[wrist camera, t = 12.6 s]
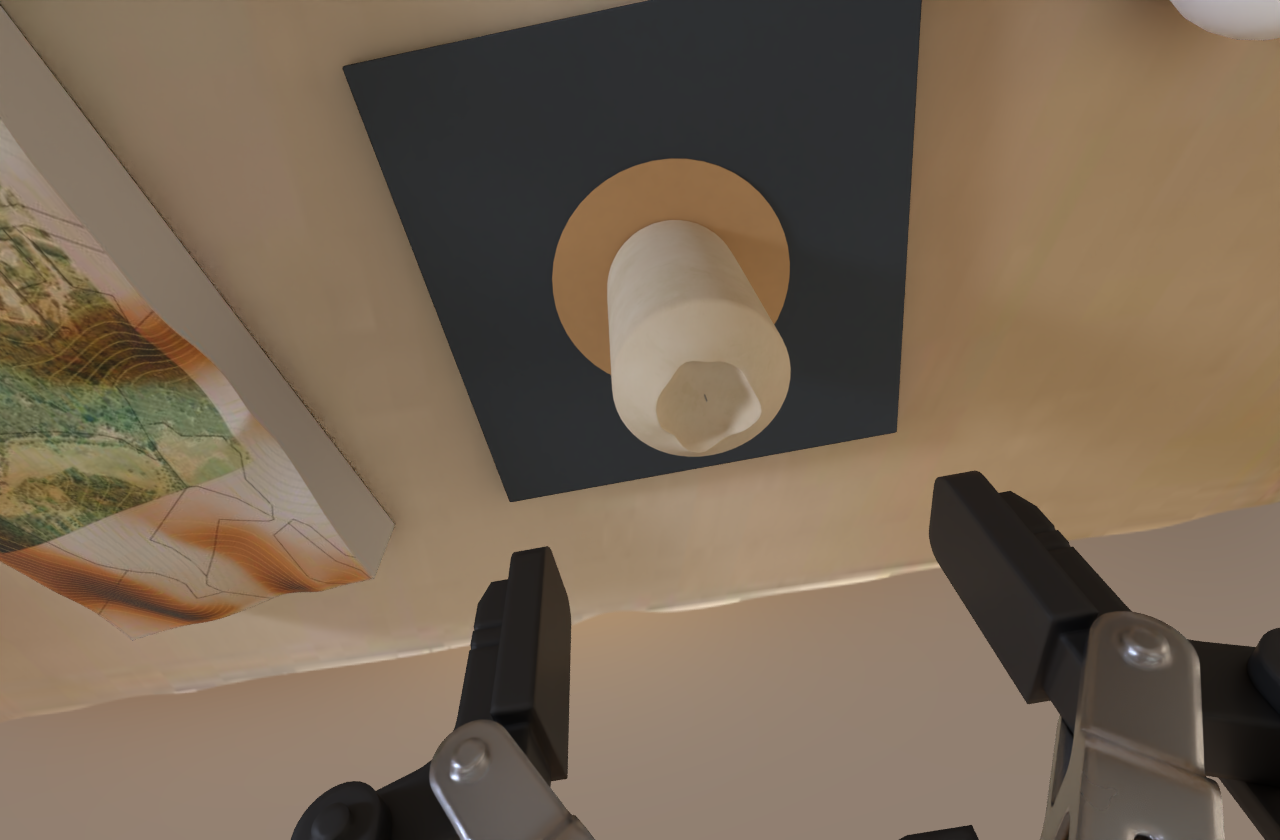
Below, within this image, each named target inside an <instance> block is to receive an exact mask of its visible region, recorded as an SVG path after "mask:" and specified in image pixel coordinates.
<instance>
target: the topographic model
mask: <svg viewBox="0 0 1280 840" xmlns="http://www.w3.org/2000/svg"><path fill="white" fill-rule="evenodd" d="M394 526H395V524H394V523H393V521H392V520H391V519H390V518H389V516H388V515H387V514H386V512H385V511H384V510H383V508H382V507H381V506H380V504H379V503H378V502H377V500H376V499H375V498H374V496H373V495H372V494H371V492H370V491H369V490H368V489H367V487H366V486H365V485H364V483H363V482H362V481H361V479H360V478H359V477H358V475H357V474H356V473H355V471H354V470H353V469H352V467H351V466H350V465H349V464H348V462H347V461H346V460H345V458H344V457H343V456H342V454H341V453H340V452H339V450H338V449H337V448H336V446H335V445H334V444H333V442H332V441H331V440H330V439H329V437H328V436H327V435H326V433H325V432H324V431H323V429H322V428H321V427H320V425H319V424H318V423H317V421H316V420H315V419H314V417H313V416H312V415H311V414H310V412H309V411H308V410H307V408H306V407H305V406H304V404H303V403H302V402H301V400H300V399H299V398H298V396H297V395H296V394H295V392H294V391H293V390H292V389H291V387H290V386H289V385H288V383H287V382H286V381H285V379H284V378H283V377H282V375H281V374H280V373H279V371H278V370H277V369H276V367H275V366H274V365H273V363H272V362H271V361H270V360H269V358H268V357H267V356H266V354H265V353H264V352H263V350H262V349H261V348H260V346H259V345H258V344H257V342H256V341H255V340H254V338H253V337H252V336H251V335H250V333H249V332H248V331H247V329H246V328H245V327H244V325H243V324H242V323H241V321H240V320H239V319H238V317H237V316H236V315H235V313H234V312H233V311H232V310H231V308H230V307H229V306H228V304H227V303H226V302H225V300H224V299H223V298H222V296H221V295H220V294H219V292H218V291H217V290H216V288H215V287H214V286H213V285H212V283H211V282H210V281H209V279H208V278H207V277H206V275H205V274H204V273H203V271H202V270H201V269H200V267H199V266H198V265H197V263H196V262H195V261H194V260H193V258H192V257H191V256H190V254H189V253H188V252H187V250H186V249H185V248H184V246H183V245H182V244H181V242H180V241H179V240H178V238H177V237H176V236H175V234H174V233H173V232H172V231H171V229H170V228H169V227H168V225H167V224H166V223H165V221H164V220H163V219H162V217H161V216H160V215H159V213H158V212H157V211H156V209H155V208H154V207H153V206H152V204H151V203H150V202H149V200H148V199H147V198H146V196H145V195H144V194H143V192H142V191H141V190H140V188H139V187H138V186H137V184H136V183H135V182H134V181H133V179H132V178H131V177H130V175H129V174H128V173H127V171H126V170H125V169H124V167H123V166H122V165H121V163H120V162H119V161H118V159H117V158H116V157H115V156H114V154H113V153H112V152H111V150H110V149H109V148H108V146H107V145H106V144H105V142H104V141H103V140H102V138H101V137H100V136H99V134H98V133H97V132H96V131H95V129H94V128H93V127H92V125H91V124H90V123H89V121H88V120H87V119H86V117H85V116H84V115H83V113H82V112H81V111H80V109H79V108H78V107H77V105H76V104H75V103H74V102H73V100H72V99H71V98H70V96H69V95H68V94H67V92H66V91H65V90H64V88H63V87H62V86H61V84H60V83H59V82H58V80H57V79H56V78H55V77H54V75H53V74H52V73H51V71H50V70H49V69H48V67H47V66H46V65H45V63H44V62H43V61H42V59H41V58H40V57H39V55H38V54H37V53H36V52H35V50H34V49H33V48H32V46H31V45H30V44H29V42H28V41H27V40H26V38H25V37H24V36H23V34H22V33H21V32H20V30H19V29H18V28H17V27H16V25H15V24H14V23H13V21H12V20H11V19H10V17H9V16H8V15H7V13H6V12H5V11H4V9H3V8H2V7H1V5H0V561H1V562H2V563H4V564H6V565H8V566H10V567H12V568H13V569H15V570H17V571H19V572H21V573H22V574H24V575H26V576H28V577H29V578H31V579H33V580H35V581H36V582H38V583H40V584H42V585H43V586H45V587H47V588H49V589H51V590H53V591H54V592H56V593H58V594H60V595H62V596H65V597H67V598H69V599H71V600H73V601H75V602H77V603H79V604H81V605H83V606H85V607H87V608H88V609H90V610H92V611H93V612H95V613H97V614H98V615H99V616H101V617H102V618H104V619H105V620H107V621H108V622H109V623H111V624H112V625H113V626H115V627H116V628H117V629H119V630H120V631H121V632H123V633H124V634H125V635H126V636H127V637H129V638H130V639H131V640H132V641H133V640H136V639H139V638H142V637H145V636H148V635H152V634H155V633H158V632H162V631H165V630H169V629H173V628H177V627H181V626H185V625H190V624H196V623H203V622H208V621H213V620H217V619H220V618H224V617H227V616H230V615H232V614H235V613H238V612H241V611H243V610H246V609H248V608H251V607H253V606H256V605H258V604H260V603H263V602H265V601H267V600H270V599H272V598H275V597H277V596H280V595H283V594H287V593H294V592H319V591H324V590H328V589H331V588H334V587H338V586H341V585H346V584H350V583H355V582H360V581H365V580H370V579H374V578H375V575H376V573H377V570H378V568H379V565H380V562H381V560H382V557H383V555H384V552H385V549H386V547H387V544H388V541H389V539H390V536H391V534H392V531H393V528H394Z"/></svg>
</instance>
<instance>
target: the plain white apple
mask: <svg viewBox="0 0 1280 840" xmlns="http://www.w3.org/2000/svg"><path fill="white" fill-rule="evenodd" d="M1170 1H1171V3H1172V4H1173V5H1174V6H1175V7H1176V9H1177V10H1178V11H1179V12H1180V14H1181V15H1182V16H1183V17H1184V18H1185V19H1187V20H1189V21H1190V22H1192V23H1194V24H1195V25H1197V26H1199V27H1200V28H1202V29H1204V30H1206V31H1207V32H1210V33H1214V34H1218V35H1221V36H1225V37H1229V38H1232V39H1237V40H1271V39H1277V38H1280V0H1170Z"/></svg>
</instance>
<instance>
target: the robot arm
mask: <svg viewBox="0 0 1280 840" xmlns="http://www.w3.org/2000/svg"><path fill="white" fill-rule="evenodd" d="M929 539H930V544H931V548H932V551H933V554H934V556H935V558H936V560H937V562H938V563H939V565H940V567H941V568H942V570H943V571H944V573H945V575H946V576H947V578H948V579H949V581H950V582H951V584H952V586H953V587H954V589H955V590H956V592H957V593H958V595H959V596H960V598H961V600H962V601H963V603H964V604H965V606H966V608H967V609H968V611H969V612H970V614H971V615H972V617H973V619H974V620H975V622H976V624H977V625H978V627H979V628H980V630H981V631H982V633H983V634H984V636H985V638H986V639H987V641H988V643H989V644H990V645H991V647H992V649H993V650H994V652H995V653H996V655H997V657H998V658H999V660H1000V661H1001V663H1002V665H1003V666H1004V668H1005V669H1006V671H1007V672H1008V674H1009V676H1010V677H1011V679H1012V680H1013V682H1014V684H1015V685H1016V687H1017V688H1018V690H1019V692H1020V693H1021V695H1022V696H1023V698H1024V699H1025V701H1026V702H1027V704H1032V703H1038V702H1044V701H1050V700H1051V702H1052V703H1053V705H1054V706H1055V708H1056V709H1057V711H1058V712H1059V714H1060V716H1059V719H1058V723H1057V730H1056V738H1055V745H1054V753H1053V761H1052V769H1051V776H1050V784H1049V791H1048V799H1047V807H1046V814H1045V820H1044V825H1043V830H1042V834H1041V838H1040V840H1224V825H1223V808H1222V797H1221V792H1220V788H1219V786H1218V784H1217V782H1216V781H1214V780H1212V779H1209V778H1207V777H1206V776H1212V777H1218V778H1219V779H1220V780H1221V782H1222V783H1223V784H1224V786H1225V787H1226V788H1227V790H1228V791H1229V792H1230V794H1231V795H1232V796H1233V798H1234V799H1235V800H1236V802H1237V803H1238V804H1239V806H1240V807H1241V808H1242V810H1243V811H1244V812H1245V813H1246V815H1247V816H1248V818H1249V819H1250V820H1251V821H1252V823H1253V824H1254V826H1255V827H1256V828H1257V830H1258V831H1259V832H1260V834H1261V835H1262V836H1263V837H1264V839H1265V840H1280V628H1276V629H1273V630H1271V631H1268V632H1267V633H1266V634H1264V635H1263V637H1262V638H1261V640H1260V641H1259V643H1258V645H1257V646H1256V647H1249V646H1238V645H1229V644H1220V643H1210V642H1201V641H1194V640H1188V639H1186V638H1185V637H1184V636H1183V635H1182V634H1180V632H1179V631H1177V630H1176V629H1174V628H1173V627H1171V626H1170V625H1168V624H1166V623H1164V622H1162V621H1160V620H1158V619H1156V618H1153V617H1151V616H1148V615H1145V614H1141V613H1136V612H1132V611H1131V610H1130V609H1129V608H1128V607H1127V606H1126V605H1125V604H1124V603H1123V602H1122V601H1121V600H1120V598H1119V597H1118V596H1117V595H1116V594H1115V593H1114V592H1113V591H1112V589H1111V588H1110V587H1109V586H1108V585H1107V584H1106V583H1105V582H1104V581H1103V579H1102V578H1101V577H1100V576H1099V575H1098V574H1097V573H1096V572H1095V571H1094V570H1093V568H1092V567H1091V566H1090V565H1089V564H1088V563H1087V562H1086V561H1085V560H1084V559H1083V557H1082V556H1081V555H1080V554H1079V553H1078V552H1077V551H1076V550H1075V548H1074V547H1070V545H1069V542H1068V541H1067V540H1066V538H1065V537H1064V536H1063V535H1062V534H1061V533H1060V532H1059V531H1058V530H1055V528H1054V525H1053V524H1052V523H1051V522H1050V521H1049V520H1048V518H1047V517H1046V516H1045V515H1044V514H1043V513H1042V512H1041V511H1040V510H1039V508H1038V507H1037V506H1035V505H1033V504H1032V503H1030V502H1028V501H1027V500H1025V499H1023V498H1022V497H1020V496H1018V495H1017V494H1015V493H1013V492H1012V491H1007V492H1002V493H998V492H997V491H996V490H995V488H994V487H993V486H992V485H991V484H990V483H989V481H988V480H987V479H986V478H985V477H984V476H983V475H982V474H981V473H980V472H978V471H970V472H965V473H959V474H953V475H948V476H942V477H938V478H937V479H936V480H935V483H934V490H933V499H932V508H931V517H930V526H929ZM470 646H471V650H470V651H469V656H468V662H467V667H466V673H465V678H464V684H463V689H462V696H461V700H460V706H459V712H458V717H457V721H456V725H455V728H454V730H453V732H452V733H451V734H449V735H448V736H447V737H446V738H445V739H444V741H443V742H442V743H441V744H440V746H439V747H438V749H437V751H436V752H435V754H434V756H433V759H432V760H431V761H430V762H428V763H427V764H426V765H424V766H423V767H421V768H420V769H418V770H416V771H414V772H412V773H411V774H409V775H407V776H405V777H403V778H401V779H399V780H397V781H395V782H393V783H391V784H389V785H387V786H385V787H383V788H381V789H379V790H377V791H375V790H374V789H373V788H372V787H371V786H370V785H368V784H366V783H363V782H356V781H353V782H346V783H343V784H340V785H337V786H335V787H333V788H331V789H330V790H328V791H326V792H325V793H324V794H322V795H321V796H320V797H319V798H317V799H316V800H315V801H314V802H313V803H312V804H311V805H310V806H309V807H308V809H307V810H306V811H305V812H304V814H303V815H302V817H301V818H300V820H299V821H298V824H297V825H296V827H295V829H294V832H293V835H292V837H291V840H595V839H594V838H593V836H592V835H591V834H590V832H589V831H588V830H587V828H586V827H585V826H584V825H583V824H582V823H581V821H580V820H579V819H578V818H577V817H576V816H575V815H572V814H570V812H569V811H568V810H567V809H566V808H565V806H564V805H563V804H562V802H561V801H560V800H559V798H558V797H557V796H556V795H555V793H554V792H553V791H552V789H551V788H550V785H551V781H556V780H561V779H567V773H568V770H567V769H568V732H569V690H570V650H571V613H570V606H569V601H568V596H567V593H566V590H565V587H564V585H563V582H562V579H561V576H560V573H559V571H558V568H557V565H556V562H555V559H554V557H553V554H552V551H551V549H550V548H549V547H548V546H547V547H541V548H536V549H530V550H524V551H519V552H514V553H513V554H512V557H511V562H510V569H509V577H508V579H507V580H501V581H496V582H491V584H490V585H489V587H488V589H487V590H486V592H485V593H484V595H483V597H482V598H481V600H480V601H479V603H478V606H477V612H476V617H475V623H474V631H473V634H472V640H471V645H470ZM899 840H979V839H978V837H977V835H976V833H975V831H974V829H973V826H972V825H969V826H963V827H956V828H950V829H943V830H938V831H931V832H925V833H919V834H913V835H907V836H905V837H903V838H901V839H899Z"/></svg>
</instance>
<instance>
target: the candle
mask: <svg viewBox="0 0 1280 840" xmlns="http://www.w3.org/2000/svg"><path fill="white" fill-rule="evenodd" d="M607 303H608V322H609V341H610V360H611V378H612V392H613V399H614V403H615V406H616V409H617V412H618V414H619V416H620V418H621V419H622V421H623V422H624V424H625V425H626V427H627V428H628V429H629V430H630V431H631V432H632V433H633V434H634V435H635V436H636V437H637V438H638V439H640V440H641V441H642V442H644V443H645V444H647V445H649V446H651V447H653V448H655V449H657V450H659V451H662V452H665V453H668V454H673V455H678V456H687V457H701V456H709V455H714V454H719V453H723V452H726V451H729V450H731V449H734V448H736V447H738V446H740V445H742V444H744V443H746V442H747V441H749V440H751V439H752V438H754V437H755V436H756V435H758V434H759V433H760V432H761V431H762V430H763V429H764V428H765V427H767V426H768V425H769V423H770V422H771V421H772V420H773V419H774V417H775V416H776V414H777V413H778V411H779V410H780V408H781V406H782V404H783V402H784V400H785V398H786V395H787V392H788V388H789V383H790V372H791V368H790V359H789V355H788V352H787V348H786V346H785V344H784V342H783V339H782V338H781V336H780V334H779V332H778V331H777V329H776V327H775V325H774V324H773V322H772V320H771V319H770V317H769V315H768V313H767V312H766V310H765V308H764V307H763V305H762V303H761V301H760V300H759V298H758V296H757V294H756V293H755V291H754V289H753V288H752V286H751V284H750V282H749V281H748V279H747V277H746V276H745V274H744V272H743V270H742V269H741V267H740V265H739V264H738V262H737V260H736V258H735V257H734V255H733V254H732V252H731V251H730V249H729V248H728V246H727V245H726V244H725V242H724V241H723V240H722V239H721V238H720V237H719V236H717V235H716V234H715V233H714V232H712V231H711V230H709V229H707V228H706V227H704V226H701V225H699V224H697V223H693V222H690V221H683V220H668V221H661V222H657V223H654V224H651V225H649V226H646V227H645V228H643V229H641V230H639V231H638V232H636V233H635V234H634V235H632V236H631V237H630V238H629V239H628V240H627V241H626V242H625V243H624V244H623V245H622V247H621V248H620V249H619V251H618V253H617V254H616V256H615V258H614V260H613V262H612V265H611V267H610V271H609V275H608V282H607Z"/></svg>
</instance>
